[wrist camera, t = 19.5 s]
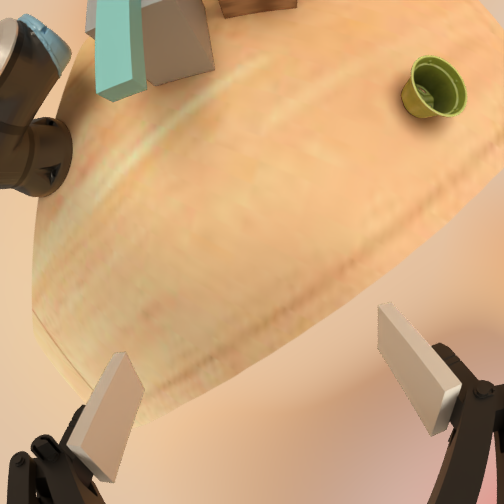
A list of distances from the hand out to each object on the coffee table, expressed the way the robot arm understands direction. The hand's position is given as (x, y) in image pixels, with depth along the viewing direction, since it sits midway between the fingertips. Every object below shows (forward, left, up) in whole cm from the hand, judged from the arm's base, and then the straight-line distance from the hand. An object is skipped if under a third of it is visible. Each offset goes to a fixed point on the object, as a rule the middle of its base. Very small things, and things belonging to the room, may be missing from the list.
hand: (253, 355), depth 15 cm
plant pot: (+27, +20, -32) cm, 46 cm away
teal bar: (-9, +31, -11) cm, 34 cm away
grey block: (-9, +36, -32) cm, 49 cm away
